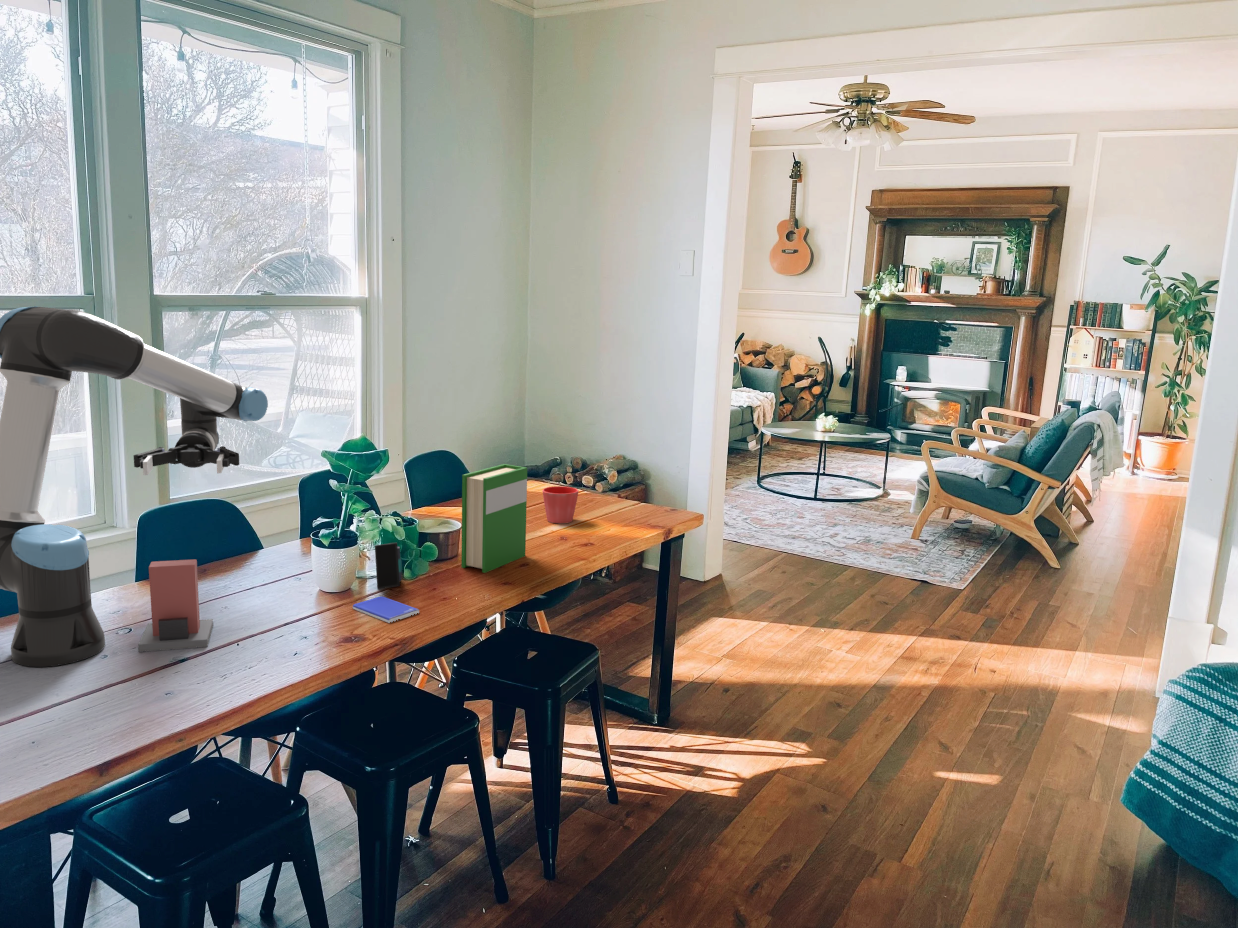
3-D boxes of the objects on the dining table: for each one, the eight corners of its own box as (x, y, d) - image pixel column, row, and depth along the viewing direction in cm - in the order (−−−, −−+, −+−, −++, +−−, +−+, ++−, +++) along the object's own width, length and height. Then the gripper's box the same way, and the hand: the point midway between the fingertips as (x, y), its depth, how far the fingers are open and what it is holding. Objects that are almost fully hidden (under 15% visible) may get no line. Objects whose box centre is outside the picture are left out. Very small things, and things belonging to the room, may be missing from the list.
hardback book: (485, 572, 230) (486, 479, 225) (461, 567, 233) (462, 474, 228) (525, 555, 245) (527, 467, 240) (502, 551, 248) (504, 463, 243)
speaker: (402, 587, 216) (400, 544, 214) (377, 589, 214) (374, 545, 213) (402, 580, 223) (400, 538, 222) (378, 582, 222) (375, 539, 220)
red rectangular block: (152, 636, 179) (148, 567, 176) (155, 629, 182) (151, 561, 179) (197, 632, 181) (194, 564, 178) (200, 626, 184) (196, 559, 182)
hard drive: (419, 608, 201) (382, 595, 208) (389, 618, 194) (352, 604, 202) (419, 615, 201) (382, 601, 208) (389, 625, 195) (352, 611, 202)
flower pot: (541, 515, 286) (542, 485, 284) (576, 516, 287) (577, 486, 286) (542, 524, 276) (542, 493, 274) (578, 525, 277) (579, 494, 275)
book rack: (138, 651, 175) (136, 624, 174) (148, 630, 185) (146, 604, 184) (207, 646, 179) (206, 619, 177) (213, 625, 189) (212, 600, 188)
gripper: (255, 463, 211) (249, 483, 191) (134, 466, 203) (114, 487, 184) (254, 431, 210) (247, 448, 190) (131, 432, 202) (112, 450, 182)
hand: (182, 467), depth 187 cm, fingers open, 13 cm apart
